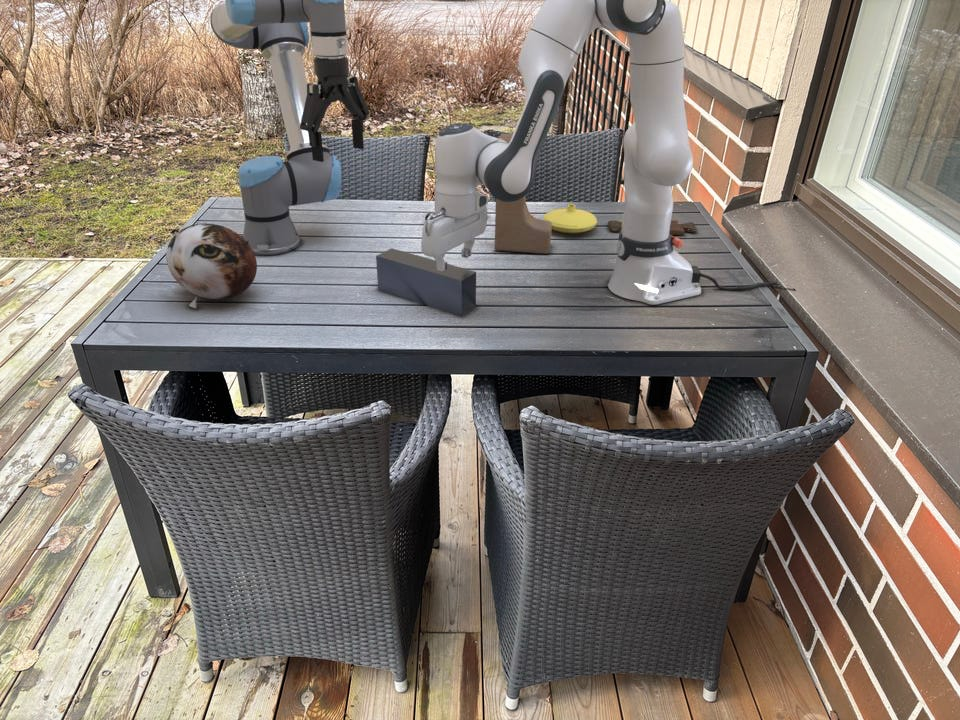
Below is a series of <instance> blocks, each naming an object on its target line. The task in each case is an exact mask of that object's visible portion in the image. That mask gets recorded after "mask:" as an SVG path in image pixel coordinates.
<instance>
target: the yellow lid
mask: <svg viewBox="0 0 960 720" xmlns="http://www.w3.org/2000/svg"><path fill="white" fill-rule="evenodd" d="M543 220H545V221H549V222H551V223H552V230H554V231H556V232H559V233H564V234H580V233H584V232H585V233H586V232H587V231H591V230H592V229H594V228H596V226H597V223H598V219H597V217H596V215H595V214H593V213H591V212H589V211H587V210H584V209H578V208H576V205H575V204H571V203H570V204H567V208H557V209H552V210H549V211H548V212H547V213H545V214H544V216H543Z"/></svg>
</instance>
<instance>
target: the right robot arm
mask: <svg viewBox="0 0 960 720" xmlns="http://www.w3.org/2000/svg"><path fill="white" fill-rule="evenodd" d="M598 28H601V29H604V30H608V31H612V32H619V31H622V32H624V33H626V36H627V39H628V44H629V100H630V105H631V108H632V109H631V110H632V114H633V119H634V123H632V124H631V125H630V126H629V127H628V129H626V131H625V133H624V135H623V136H624V137H623V139H622V145H623V154H624V155H623V156H624V159H623V161H624V162H623V165H624V168H623V173H624V174H623V175H624V176H623V179H624V205H623V214H622V230H621V231H619V233H618V240H617V245H616V255H617V256H616V261H615V264H614V268H613V272H612V274H611V277H610V279H609V281H608V284H607V287H608V289H609V290H610V292H612V294H614V295H616V296H617V297H621V298H623V299H627V300H631V301H637V302H641V303H644V304H647V305H651V306H656V305H660V304H665V303H669V302H673V301H678V300H683V299H687V298H692V297H696V296H699V295H701V294H702V287H701V285H700V283H701V282H700V281H701V278H705V279H707V280H709V281H711V282H712V283H713V285H714V286H715V287H716V288H717V289H719V290H722V291H742V290H743V291H744V290H749V289H753V288H756V287H762V286H781V285H780V284H777V282H778V281H769V282H757V283H753V284H750V285H745V286H744V285H743V286H734V287H731V286H730V287H729V286H728V287H727V286H722V285H720V284H719V283H718V281H717V280H716V279H715V278H714V277H712V276H710V275H707V274H706V273H702V272H701V270H700V269H699V267H698V266H697V265H691V263H690V262H689V261H688V260H687V259H686V258H685V257H683V256H682V255H681V254H680V253H679V252H677V250H675V249H674V247H675V248H676V249H681V248H682V247H683V246H684V242H683V240H681V239H680V238H679V237H675V236H674V235H673V234H669V230H670V224H671V220H672V217H673V210H674V198H673V191H672V187H675V186H677V185H679V184H681V183H682V182H684V181H685V180H686V179H687V178H688V177H689V175H690V173H691V171H692V169H693V167H694V156H693V152H692V149H691V144H690V138H689V128H688V120H687V113H686V106H685V99H684V98H685V96H684V95H685V94H684V82H685V81H684V79H685V76H684V75H685V40H684V28H683V21H682V15H681V10H680V8H679V7H678V6H677V5H676V3H674V2H672V1H670V0H545V1H544V3H543V4H542V6H541V7H540V8H539V10H538V13H537V14H536V15H535V18H534V20H533V21H532V23H531V25H530V27H529V30H528V32H527V34H526V36H525V38H524V41H523V43H522V45H521V49H520V53H519V56H518V60H517V64H518V68H519V69H518V70H519V72H520V73H519V74H520V76H521V79H522V81H523V85H524V90H525V91H524V92H525V100H524V104H523V108H522V111H521V113H520V116H519V117H518V121H517V123H516V126H515V128H514V131H513V133H512V134H513V135H512V138H511V140H510V142H509V143H507V142H506V141H504V140H502V139H499V137H495V136H491V135H489V134H486V133H484V132H483V131H481V130H479V129H478V128H476V127H475V126H474V125H473V124H471V123H467V122H463V123H462V122H460V123H458V122H457V123H452V124H449V125H446V126H445V127H443V128H442V129H440V131H439V132H438V133H437V137H436V141H435V148H434V172H435V177H436V178H435V179H436V180H435V184H434V211H433V212H430V213H431V214H429V217H428V218H427V220H426V221H425V220H424V223H423V226H422V231H421V241H420V243H421V245H420V249H421V250H420V251H421V253H422V254H423V255H424V256H427V257H431V258H433V260H435V261H436V262H437V270H439V271H444V270H446V269H447V264H448V261H445V259H444V257H446V253H447V252H450V251H452V250H453V249H455V248H457V247H459V246H461V245H463V244H464V245H463V248H461V254H460V256H461V257H462V258H465V259H467V258H469V257H471V256H472V249H473V247H474V244H475V242H476V238H477V237H479V236H480V235H482V234H484V232H485V231H486V228H487V223H488V207H487V205H488V204H489V195H488V194H485V193H481V192H479V191H477V188H478V186H483V185H484V186H485V188H486V189H487V190H488V192H489V194H490V195H491V196H492V197H493V198H494V199H495V200H496V199H497V200H500V201H503V202H513V201H517V200H519V199H521V198H523V197H524V196H525V195H526V196H527V195H528V194H529V192H530V191H531V190H532V188H533V186H534V184H535V182H536V177H537V167H538V162H539V161H538V160H539V158H540V154H541V151H542V149H543V147H544V144H545V141H546V139H547V136H548V134H549V132H550V129H551V128H552V125H553V122H554V119H555V117H556V115H557V112H558V109H559V107H560V104H561V101H562V98H563V94H564V91H565V87H566V85H567V82H568V80H569V77H570V75H571V73H572V70H573V68H574V66H575V64H576V62H577V60H578V58H579V55H581V51H582V49H583V48H584V45H585V43H586V40H587V39H588V38H589V37H590V35H591V34H592V33H593V32H594V31H595V30H597V29H598Z"/></svg>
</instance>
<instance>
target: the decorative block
mask: <svg viewBox="0 0 960 720" xmlns="http://www.w3.org/2000/svg"><path fill="white" fill-rule="evenodd" d="M512 135H513V133H503V132H502V133H500V135H499V137H498V138H499V139H502V140H504V141H506V142H507V143H509V142H510V140H511V138H512ZM494 216H495V218H494V251H498V252H514V253H529V254H543V255H548V254H549V253H550V250H551V243H552V230H553V229H552V223H551V222H549V221H545V220H544V219H540V218H536V217H535V216H533V215H532V214H530V211H529V208H528V204H527V194H526V195H525V196H524V197H523V198H521V199H519V200H517V201H513V202H503V201H500V200H497V199H496V198H495V213H494Z"/></svg>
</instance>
